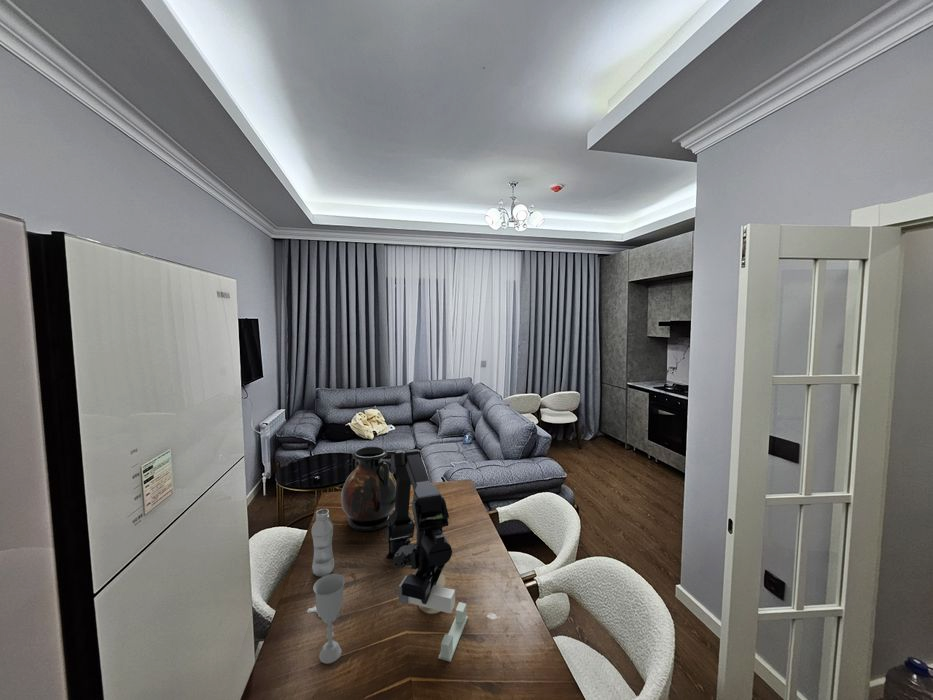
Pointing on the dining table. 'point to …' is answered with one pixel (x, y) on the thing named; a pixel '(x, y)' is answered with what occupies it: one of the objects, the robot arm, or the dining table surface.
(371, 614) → the dining table surface
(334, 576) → the chalice
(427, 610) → the bobbin
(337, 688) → the dining table surface
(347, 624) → the dining table surface
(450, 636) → the notched board
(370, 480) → the amphora vase
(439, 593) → the mallet
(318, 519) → the plastic bottle
